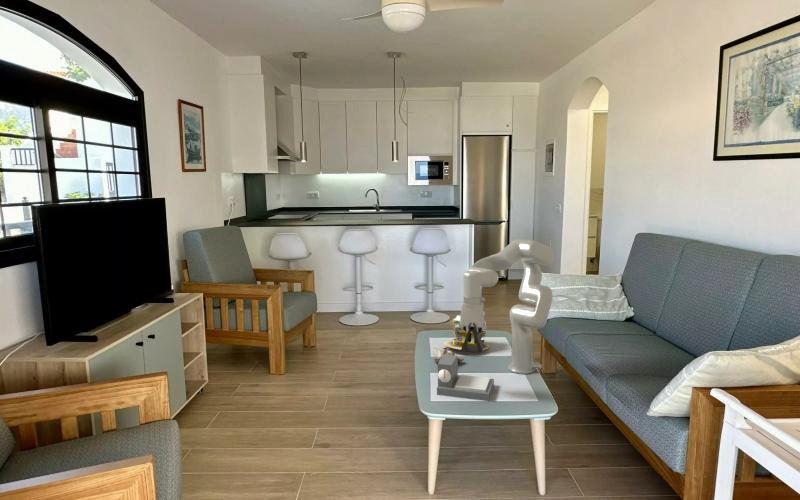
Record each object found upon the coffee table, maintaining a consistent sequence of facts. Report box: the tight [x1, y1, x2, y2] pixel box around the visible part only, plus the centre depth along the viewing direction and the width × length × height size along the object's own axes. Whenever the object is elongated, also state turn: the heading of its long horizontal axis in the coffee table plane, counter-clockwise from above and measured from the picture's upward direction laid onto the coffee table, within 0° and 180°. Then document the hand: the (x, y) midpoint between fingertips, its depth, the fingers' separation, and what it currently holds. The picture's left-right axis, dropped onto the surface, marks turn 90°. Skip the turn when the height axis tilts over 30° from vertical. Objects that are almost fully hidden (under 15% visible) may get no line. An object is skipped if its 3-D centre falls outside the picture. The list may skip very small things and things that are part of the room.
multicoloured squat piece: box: [442, 314, 490, 351], centre depth 256 cm, size 25×25×17 cm
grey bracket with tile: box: [436, 354, 495, 402], centre depth 205 cm, size 22×16×13 cm
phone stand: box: [460, 323, 484, 353], centre depth 201 cm, size 9×6×12 cm, turn 74°
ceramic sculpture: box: [433, 347, 465, 364], centre depth 235 cm, size 11×9×15 cm
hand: (472, 341), depth 202 cm, fingers closed on phone stand
